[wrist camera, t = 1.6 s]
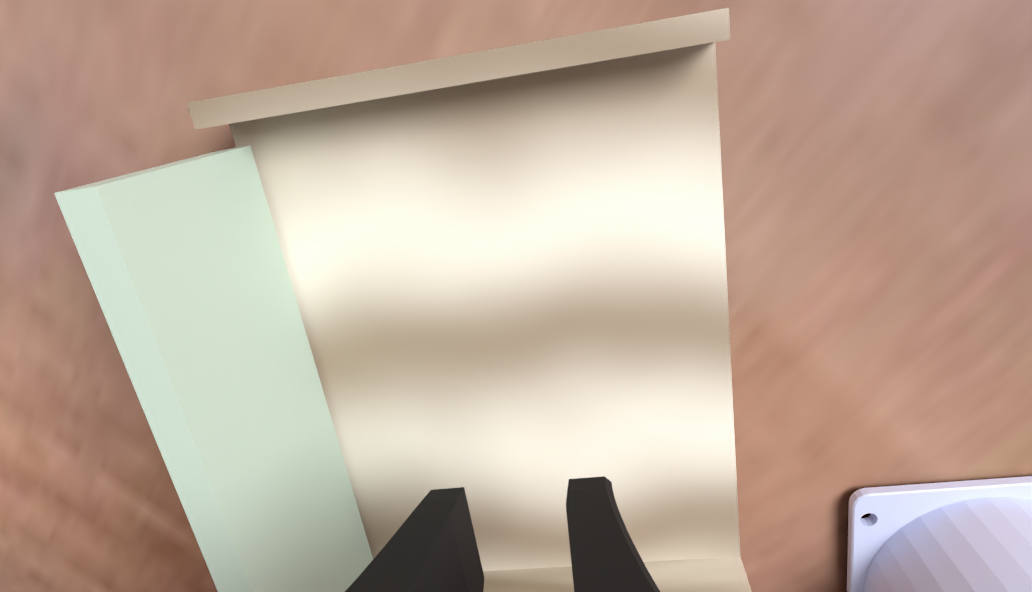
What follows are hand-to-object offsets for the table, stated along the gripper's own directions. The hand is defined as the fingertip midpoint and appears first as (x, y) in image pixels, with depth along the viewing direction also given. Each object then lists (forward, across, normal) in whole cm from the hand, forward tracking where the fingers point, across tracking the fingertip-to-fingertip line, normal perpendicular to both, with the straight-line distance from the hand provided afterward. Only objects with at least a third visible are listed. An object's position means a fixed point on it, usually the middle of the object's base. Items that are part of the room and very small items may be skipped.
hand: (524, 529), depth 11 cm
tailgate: (+7, +7, 0) cm, 10 cm away
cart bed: (+9, +1, 0) cm, 9 cm away
